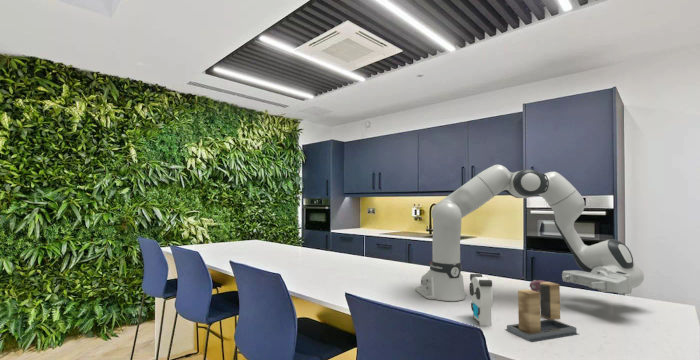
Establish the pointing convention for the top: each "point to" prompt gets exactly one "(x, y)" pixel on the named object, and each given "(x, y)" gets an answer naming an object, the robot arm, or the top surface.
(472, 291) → the panda figurine
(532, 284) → the video game controller
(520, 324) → the block
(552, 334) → the dark grey tray
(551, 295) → the oak finger
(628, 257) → the robot arm
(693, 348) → the top surface
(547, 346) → the top surface
